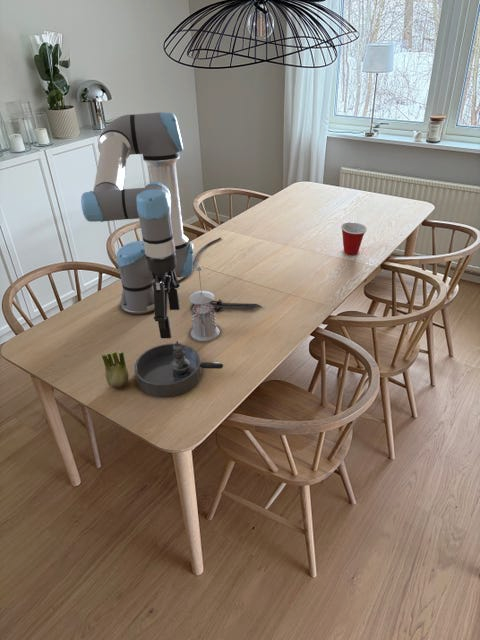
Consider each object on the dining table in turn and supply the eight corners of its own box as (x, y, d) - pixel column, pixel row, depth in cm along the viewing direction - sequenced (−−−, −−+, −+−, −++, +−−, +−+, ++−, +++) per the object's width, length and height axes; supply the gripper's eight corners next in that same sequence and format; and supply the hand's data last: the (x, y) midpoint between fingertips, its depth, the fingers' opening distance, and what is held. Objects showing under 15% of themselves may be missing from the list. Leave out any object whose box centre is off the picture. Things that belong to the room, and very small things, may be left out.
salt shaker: (174, 366, 143) (169, 334, 136) (193, 367, 142) (189, 335, 136) (169, 379, 138) (164, 346, 131) (189, 380, 137) (185, 347, 131)
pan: (145, 354, 150) (143, 343, 147) (205, 355, 148) (204, 343, 146) (129, 396, 134) (126, 384, 131) (196, 397, 132) (195, 385, 130)
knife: (262, 306, 171) (262, 302, 170) (259, 315, 166) (259, 312, 165) (196, 300, 176) (195, 297, 175) (191, 309, 170) (190, 306, 170)
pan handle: (199, 369, 138) (199, 364, 137) (200, 365, 139) (200, 360, 138) (223, 369, 137) (222, 365, 136) (223, 366, 139) (223, 361, 138)
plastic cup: (359, 260, 197) (362, 233, 191) (334, 255, 202) (336, 228, 196) (367, 250, 205) (371, 224, 198) (344, 245, 210) (346, 220, 203)
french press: (220, 323, 162) (215, 258, 148) (218, 344, 153) (213, 276, 139) (191, 324, 163) (184, 259, 149) (188, 344, 153) (180, 277, 139)
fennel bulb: (131, 381, 139) (124, 348, 132) (124, 392, 135) (116, 359, 129) (113, 378, 140) (105, 346, 134) (106, 389, 136) (97, 357, 130)
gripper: (155, 232, 129) (165, 298, 141) (133, 278, 108) (147, 350, 120) (182, 232, 128) (190, 298, 140) (165, 277, 108) (176, 350, 120)
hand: (170, 322), depth 130 cm, fingers open, 13 cm apart
